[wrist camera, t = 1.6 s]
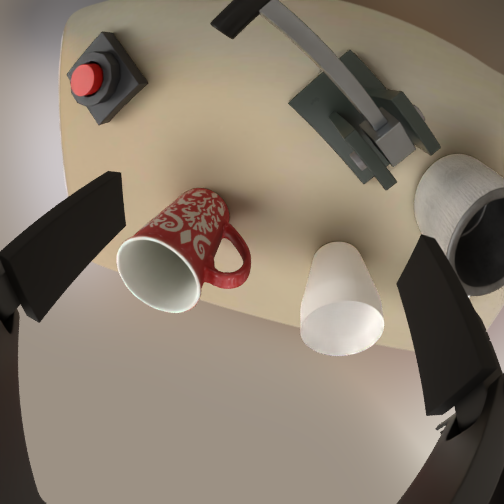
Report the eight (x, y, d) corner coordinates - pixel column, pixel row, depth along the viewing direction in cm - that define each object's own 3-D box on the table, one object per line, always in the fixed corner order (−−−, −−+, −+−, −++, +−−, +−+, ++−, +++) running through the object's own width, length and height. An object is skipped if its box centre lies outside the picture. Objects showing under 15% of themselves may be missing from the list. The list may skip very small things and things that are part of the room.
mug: (170, 235, 39) (122, 299, 28) (171, 175, 33) (109, 227, 22) (257, 256, 38) (234, 333, 27) (270, 194, 33) (248, 261, 22)
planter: (438, 257, 33) (466, 315, 23) (392, 193, 29) (423, 243, 20) (500, 206, 26) (543, 251, 17) (463, 131, 23) (519, 159, 14)
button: (75, 79, 24) (66, 81, 22) (94, 57, 22) (84, 57, 21) (89, 100, 25) (79, 103, 24) (108, 78, 24) (99, 79, 22)
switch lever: (209, 22, 10) (209, 25, 9) (276, -37, 8) (288, -43, 6) (363, 160, 19) (378, 179, 17) (411, 121, 16) (430, 138, 15)
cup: (297, 282, 39) (290, 350, 29) (311, 226, 34) (310, 292, 24) (357, 292, 38) (366, 360, 29) (378, 240, 33) (400, 306, 23)
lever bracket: (288, 102, 26) (274, 115, 15) (348, 50, 22) (381, 25, 10) (362, 181, 29) (392, 246, 18) (419, 135, 25) (483, 176, 14)
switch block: (76, 73, 26) (57, 76, 23) (112, 32, 23) (92, 30, 20) (108, 122, 30) (89, 128, 27) (148, 83, 27) (130, 85, 24)
